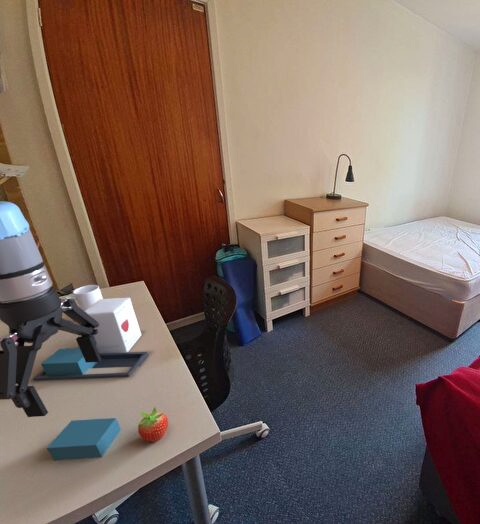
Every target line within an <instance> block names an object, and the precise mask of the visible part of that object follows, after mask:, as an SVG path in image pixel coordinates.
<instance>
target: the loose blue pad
mask: <svg viewBox="0 0 480 524" xmlns="http://www.w3.org/2000/svg"><path fill="white" fill-rule="evenodd" d="M121 431H122V428H121V426H120V424H119V422H118V419H117V417H110V418H92V419H91V418H90V419H74V420H71V421H70V422H69V423H68V424H67V425H66V426H65V427H64V428H63V429H62V430H61V432H60V433H59V434H58V435H57V436H56V437H55V438H54V439H53V440H52V442H50V444H49V445H48V446H47V447H46V450H47V451H48V453H49V454H50V457H51V458H52V459H53V461H68V460H81V459H83V460H84V459H95V458H96V459H97V458H103V457H104V455H105V454H106V452H107V451H108V450H109V448H110V447H111V445H112V444H113V442H114V441H115V440H116V438H117V437H118V435H119V433H120V432H121Z"/></svg>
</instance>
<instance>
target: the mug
mask: <svg viewBox="0 0 480 524" xmlns="http://www.w3.org/2000/svg"><path fill="white" fill-rule="evenodd" d="M72 294H73V296H71V295H70V296H65V299H74V300H75V301H76V303H77V305H78V307H80V308H81V309H82V310H83V311H85V310H87V309H88V308H89V307H90V306H91V305H93V304H94V303H96V302H97V301H98V300H99V299H104V298H103V295H102V291H101V289H100V286H99V285H98V284H88V285H83V286H80V287H78V288H76V289H74V290H73V291H72Z"/></svg>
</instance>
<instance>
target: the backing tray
mask: <svg viewBox="0 0 480 524" xmlns="http://www.w3.org/2000/svg"><path fill="white" fill-rule="evenodd" d="M99 354H100V357H101V359H102V360H101V361H100V362H98V363H97V364H96V365H95V366H94V367H93V368H92V369H110V368H111V369H112V368H113V369H115V368H130V369H129V370H128V371H127V372H109V373H108V372H107V373H88V374H87V373H84V374H83V375H59V376H47V375H46V373H45V371H44V369H43V370H42V371H40V372H39V373H38V374H37V375H36V376H34V377H33V378H32V380H33V382H38V381H39V382H40V381H62V380H63V381H64V380H65V381H66V380H87V379H108V378H109V379H110V378H129V377H131V376H132V374H133V373H134V372H135V371H136V370H137V368H138V367H141V366H142V365H143V364H144V362H145V361H146V360H147V359H148V358H149V353H148V351H132V352H130V351H128V352H126V353H99Z"/></svg>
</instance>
